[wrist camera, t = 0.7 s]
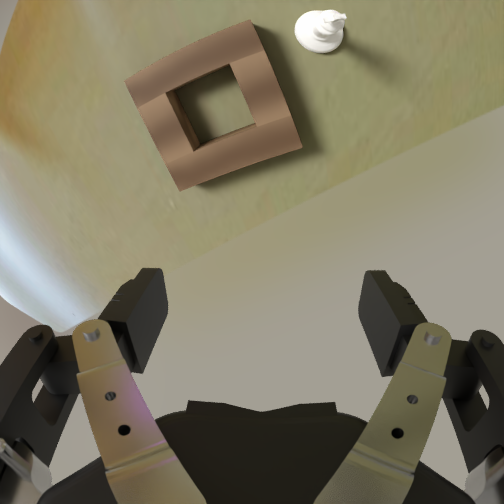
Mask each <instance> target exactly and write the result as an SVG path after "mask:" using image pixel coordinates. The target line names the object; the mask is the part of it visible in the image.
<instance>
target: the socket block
mask: <svg viewBox="0 0 504 504" xmlns="http://www.w3.org/2000/svg"><path fill="white" fill-rule="evenodd" d="M229 65H230V66H231V68H232V70H233V73H234V75H235V77H236V79H237V82H238V84H239V86H240V88H241V91H242V93H243V95H244V98H245V100H246V102H247V104H248V107H249V109H250V112H251V114H252V116H253V119H254V121H255V123H254V124H251V125H248V126H246V127H243V128H240V129H238V130H235V131H232V132H230V133H227V134H225V135H222V136H220V137H217V138H215V139H212V140H210V141H207V142H205V143H203V144H200V143H199V140H198V138H197V136H196V134H195V132H194V130H193V128H192V126H191V124H190V121H189V119H188V117H187V115H186V113H185V111H184V109H183V107H182V105H181V103H180V100H179V98H178V96H177V94H176V92H175V90H176V89H178V88H180V87H182V86H184V85H186V84H188V83H190V82H193V81H195V80H197V79H199V78H201V77H204V76H206V75H208V74H210V73H213V72H215V71H217V70H220V69H222V68H225V67H227V66H229ZM124 82H125V84H126V86H127V88H128V90H129V92H130V94H131V96H132V98H133V101H134V103H135V105H136V107H137V109H138V111H139V113H140V115H141V117H142V119H143V121H144V123H145V125H146V127H147V129H148V131H149V133H150V135H151V137H152V139H153V141H154V143H155V145H156V147H157V149H158V151H159V153H160V155H161V157H162V159H163V160H164V162H165V164H166V166H167V168H168V170H169V172H170V174H171V176H172V178H173V180H174V182H175V184H176V185H177V187H178V189H179V191H182V190H185V189H187V188H190V187H192V186H195V185H197V184H200V183H203V182H205V181H208V180H210V179H213V178H216V177H218V176H221V175H224V174H226V173H229V172H232V171H235V170H237V169H240V168H243V167H246V166H249V165H252V164H254V163H257V162H260V161H263V160H266V159H269V158H272V157H275V156H278V155H281V154H284V153H287V152H291V151H294V150H297V149H300V148H303V146H302V143H301V140H300V137H299V134H298V131H297V129H296V126H295V123H294V121H293V118H292V115H291V113H290V110H289V108H288V105H287V102H286V100H285V97H284V95H283V92H282V90H281V87H280V85H279V82H278V80H277V78H276V75H275V73H274V70H273V68H272V66H271V63H270V61H269V59H268V56H267V54H266V52H265V50H264V47H263V45H262V43H261V41H260V38H259V36H258V34H257V32H256V30H255V28H254V25H253V23H252V22H251V20H247V21H245V22H242V23H239V24H237V25H234V26H231V27H229V28H226V29H224V30H221V31H219V32H217V33H214V34H212V35H210V36H207V37H205V38H203V39H201V40H198V41H196V42H194V43H192V44H190V45H188V46H186V47H184V48H182V49H180V50H178V51H176V52H174V53H172V54H170V55H168V56H166V57H164V58H162V59H160V60H159V61H157V62H155V63H153V64H151V65H150V66H148V67H146V68H144V69H143V70H141V71H139V72H138V73H136V74H134V75H133V76H131V77H129V78H128V79H126V80H125V81H124Z"/></svg>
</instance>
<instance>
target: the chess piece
mask: <svg viewBox="0 0 504 504" xmlns="http://www.w3.org/2000/svg"><path fill="white" fill-rule="evenodd" d="M344 19H347V18H346V15H345V14H340V13H339V12H337V11H335V10H326V11H310V12H307V13H305V14H303V15H302V16H301V17H300V18H299V19H298V20H297V22H296V25H295V35H296V38H297V40H298V41H299V43H300V44H301V45H302V46H303V47H304V48H306V49H308V50H309V51H312V52H315V53H327V52H330V51H333V50H334V49H336V48H337V47H338V46H339V45H340V43H341V41H342V39H343V27H344V24H345V21H344Z"/></svg>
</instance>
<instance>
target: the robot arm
mask: <svg viewBox="0 0 504 504" xmlns="http://www.w3.org/2000/svg"><path fill="white" fill-rule="evenodd" d="M358 311H359V318H360V321H361V324H362V326H363V329H364V331H365V334H366V336H367V339H368V341H369V344H370V346H371V349H372V351H373V354H374V357H375V359H376V362H377V365H378V367H379V370H380V373H381V375H382V377H385V376H393V377H392V380H391V381H390V384H389V385H388V388H387V389H386V391H385V393H384V395H383V397H382V399H381V401H380V403H379V404H378V406H377V408H376V410H375V412H374V413H373V415H372V417H371V419H370V420H369V422H366V421H364V420H362V419H360V418H358V417H355V416H352V415H349V414H345V413H339V412H337V409H336V405H335V402H328V403H309V404H298V405H293V406H289V407H284V408H280V409H275V410H271V411H265V412H259V411H254V410H250V409H246V408H241V407H237V406H233V405H229V404H226V403H215V402H201V401H190V400H188V404H187V409H186V411H179V412H174V413H170V414H167V415H164V416H162V417H160V418H157V419H155V420H154V418H153V417H152V415H151V413H150V411H149V409H148V407H147V405H146V403H145V401H144V399H143V397H142V395H141V393H140V391H139V389H138V387H137V385H136V383H135V381H134V379H133V377H132V375H131V373H132V372H134V373H141V374H142V373H143V372H144V369H145V367H146V364H147V362H148V359H149V357H150V355H151V352H152V350H153V348H154V345H155V343H156V340H157V338H158V336H159V333H160V331H161V329H162V326H163V324H164V322H165V319H166V317H167V314H168V300H167V294H166V288H165V283H164V276H163V272H162V269H160V268H142V269H141V270H140V272H139V273H138V275H137V276H136V277H135V279H134V280H132V279H131V280H129V281H128V282H126V283H125V284H123V285H122V286H121V287H120V288H119V290H118V291H117V292H116V295H114V296H113V298H112V299H111V301H110V302H109V303H108V305H107V306H106V308H105V309H104V310H103V312H102V313H101V315H100V316H99V318H98V319H94V320H89V321H86V322H84V323H82V324H80V325H79V326H78V327H77V328H76V329H75V330H74V331H73V334H72V335H70V336H59V337H55V335H54V333H53V330H52V328H51V327H50V326H48V325H37V326H34V327H32V328H30V329H28V330H27V331H26V332H25V333H24V334H23V335H22V336H21V338H20V339H19V340H18V342H17V343H16V344H15V346H14V347H13V348H12V350H11V351H10V353H9V354H8V355H7V357H6V358H5V359H4V361H3V363H2V364H1V365H0V504H504V344H503V343H502V342H501V340H500V339H499V338H498V337H497V336H496V335H495V334H493V333H491V332H489V331H486V330H476V331H475V332H473V333H472V335H471V337H470V340H469V341H461V340H453V339H451V336H450V334H449V332H448V331H447V330H446V329H445V328H443V327H442V326H439V325H437V324H434V323H428V321H427V319H426V318H425V316H424V315H423V313H422V312H421V310H420V309H419V308H418V306H417V305H416V304H415V302H414V300H413V299H412V298H411V296H410V294H409V293H408V292H407V290H406V289H405V288H404V287H402V286H401V285H400V284H398V283H397V282H393V281H392V280H391V278H390V277H389V275H388V274H387V273H386V271H385V270H381V271H380V270H377V271H376V270H374V271H371V270H369V271H366V273H365V275H364V281H363V285H362V291H361V296H360V301H359V308H358ZM39 378H40V379H41V381H42V383H43V384H44V385H43V386H42V388H41V390H40V392H39V394H38V396H37V398H36V399H35V401H34V403H33V401H32V391H33V389H34V387H35V385H36V384H37V382H38V380H39ZM482 385H483V386H484V388H485V390H486V392H487V394H488V396H489V408H488V410H487V408H486V406H485V404H484V402H483V399H482V397H481V395H480V393H479V389H480V388H481V386H482ZM79 393H81V396H82V399H83V403H84V407H85V410H86V413H87V416H88V420H89V423H90V426H91V429H92V432H93V435H94V438H95V441H96V444H97V447H98V449H99V452H100V455H101V456H100V457H99V458H97V459H96V460H94V461H93V462H91V463H89V464H88V465H86V466H85V467H83V468H82V469H80V470H78V471H77V472H75V473H74V474H72V475H70V476H69V477H67V478H65V479H64V480H62V481H60V482H59V483H57V484H55V485H52V484H51V482H52V477H51V472H50V470H49V465H50V462H51V460H52V457H53V454H54V452H55V449H56V447H57V444H58V442H59V439H60V436H61V434H62V431H63V429H64V427H65V424H66V422H67V419H68V417H69V415H70V412H71V410H72V408H73V406H74V403H75V401H76V399H77V396H78V394H79ZM441 398H443V400H444V403H445V405H446V408H447V410H448V413H449V415H450V418H451V421H452V424H453V426H454V429H455V432H456V435H457V438H458V441H459V444H460V447H461V450H462V453H463V456H464V459H465V463H466V466H467V469H468V473H469V475H468V477H467V479H466V483H465V490H464V491H463V490H461V489H460V488H458V487H457V486H455V485H454V484H452V483H451V482H449V481H448V480H446V479H445V478H444V477H442V476H440V475H439V474H438V473H436V472H435V471H433V470H432V469H431V468H429V467H428V466H426V465H425V464H424V463H422V462H421V461H419V459H420V457H421V454H422V452H423V449H424V447H425V445H426V442H427V439H428V437H429V434H430V431H431V428H432V426H433V423H434V420H435V417H436V414H437V411H438V407H439V404H440V401H441Z"/></svg>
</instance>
